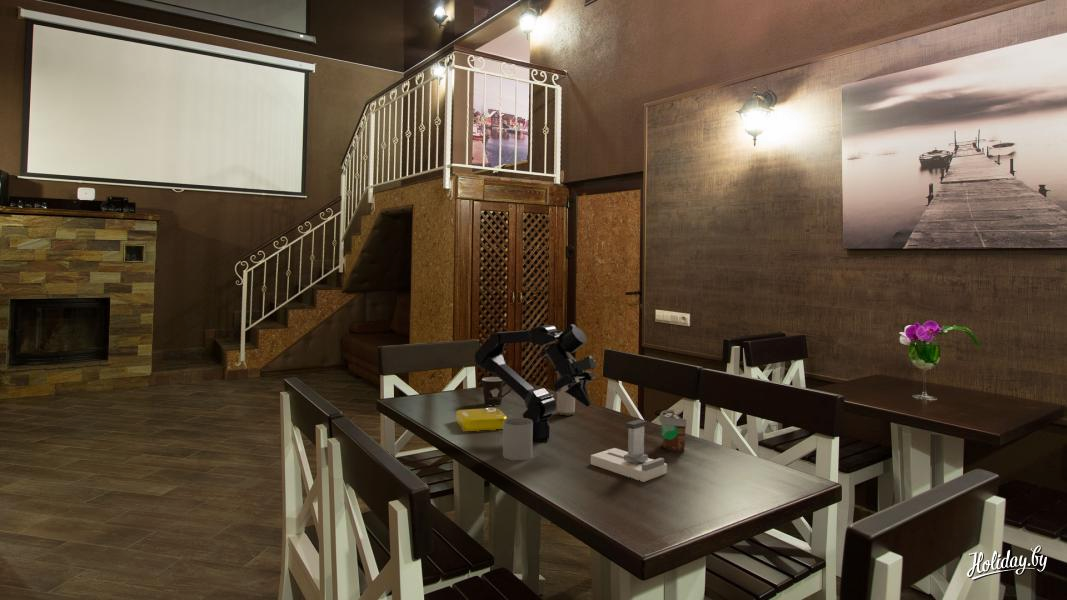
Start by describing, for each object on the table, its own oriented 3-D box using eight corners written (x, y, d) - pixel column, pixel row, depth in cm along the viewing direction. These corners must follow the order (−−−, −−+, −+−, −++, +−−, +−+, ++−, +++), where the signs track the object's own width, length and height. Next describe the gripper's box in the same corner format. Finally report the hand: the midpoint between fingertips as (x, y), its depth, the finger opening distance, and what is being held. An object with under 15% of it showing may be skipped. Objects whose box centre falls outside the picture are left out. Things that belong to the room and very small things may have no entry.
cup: (510, 462, 165) (510, 426, 164) (498, 453, 172) (498, 419, 171) (537, 457, 169) (537, 423, 168) (524, 449, 176) (524, 416, 175)
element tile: (455, 422, 208) (455, 408, 208) (497, 419, 213) (497, 406, 212) (463, 433, 194) (463, 419, 193) (508, 430, 198) (508, 416, 198)
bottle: (563, 411, 223) (564, 331, 222) (579, 413, 219) (580, 332, 218) (552, 414, 218) (553, 333, 216) (568, 417, 214) (569, 334, 212)
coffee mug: (479, 406, 229) (479, 380, 229) (484, 401, 238) (485, 376, 237) (508, 408, 228) (509, 382, 227) (513, 402, 236) (513, 377, 235)
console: (590, 464, 164) (590, 449, 163) (614, 456, 170) (614, 442, 170) (643, 481, 150) (643, 466, 150) (666, 473, 157) (667, 458, 157)
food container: (653, 441, 186) (654, 409, 185) (672, 440, 186) (673, 409, 186) (665, 453, 174) (666, 419, 173) (685, 453, 174) (686, 419, 174)
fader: (623, 460, 158) (623, 422, 157) (636, 456, 162) (637, 418, 161) (635, 464, 155) (635, 425, 154) (648, 459, 159) (649, 421, 158)
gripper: (568, 347, 169) (598, 394, 164) (594, 345, 186) (621, 388, 181) (540, 368, 173) (567, 415, 168) (567, 365, 190) (593, 407, 185)
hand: (589, 405), depth 176 cm, fingers closed
